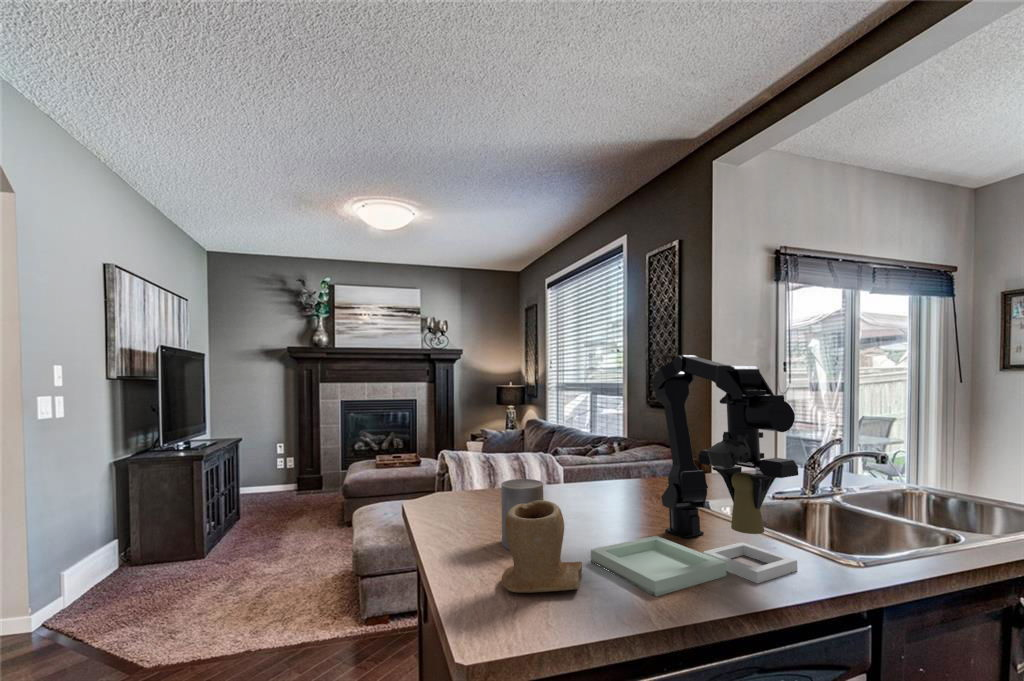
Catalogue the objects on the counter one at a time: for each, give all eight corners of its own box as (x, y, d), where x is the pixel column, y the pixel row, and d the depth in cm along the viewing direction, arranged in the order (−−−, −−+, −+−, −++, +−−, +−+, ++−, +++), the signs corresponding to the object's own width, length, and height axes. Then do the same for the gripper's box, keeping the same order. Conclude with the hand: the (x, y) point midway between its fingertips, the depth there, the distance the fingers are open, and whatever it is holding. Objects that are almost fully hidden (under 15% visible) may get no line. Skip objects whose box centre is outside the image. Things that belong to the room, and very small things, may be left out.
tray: (591, 562, 98) (590, 549, 98) (656, 547, 107) (656, 535, 107) (655, 596, 82) (655, 581, 83) (726, 575, 91) (725, 562, 91)
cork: (724, 526, 98) (721, 471, 99) (746, 523, 100) (744, 469, 101) (748, 535, 92) (745, 477, 93) (771, 531, 94) (769, 474, 95)
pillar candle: (534, 535, 115) (532, 471, 117) (552, 548, 106) (550, 479, 108) (495, 541, 112) (494, 475, 113) (511, 555, 103) (509, 483, 104)
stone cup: (500, 604, 80) (500, 512, 81) (502, 575, 92) (501, 495, 93) (592, 603, 80) (590, 511, 81) (581, 575, 92) (579, 494, 93)
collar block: (703, 561, 98) (703, 551, 98) (742, 551, 104) (741, 542, 104) (757, 583, 87) (757, 572, 88) (797, 570, 93) (796, 560, 93)
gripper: (678, 425, 102) (681, 500, 101) (760, 433, 86) (764, 524, 84) (714, 422, 107) (717, 494, 106) (797, 430, 91) (802, 515, 90)
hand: (746, 505), depth 96 cm, fingers closed on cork, 4 cm apart
